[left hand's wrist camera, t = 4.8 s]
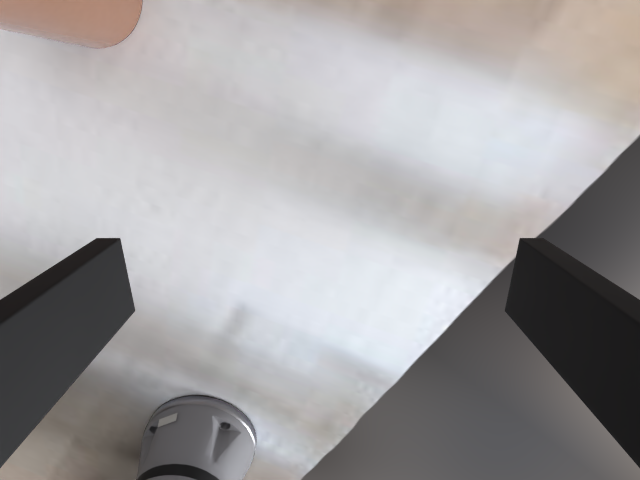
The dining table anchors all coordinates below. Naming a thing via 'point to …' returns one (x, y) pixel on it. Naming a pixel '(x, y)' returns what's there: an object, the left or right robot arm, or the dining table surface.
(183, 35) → the dining table surface
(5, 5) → the jar
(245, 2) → the dining table surface
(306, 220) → the dining table surface
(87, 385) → the dining table surface
